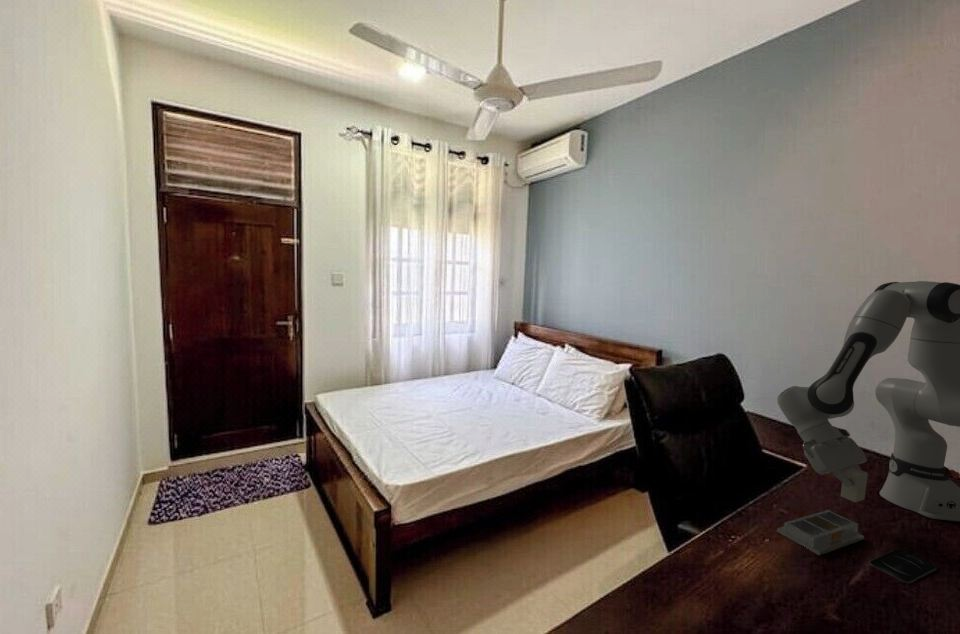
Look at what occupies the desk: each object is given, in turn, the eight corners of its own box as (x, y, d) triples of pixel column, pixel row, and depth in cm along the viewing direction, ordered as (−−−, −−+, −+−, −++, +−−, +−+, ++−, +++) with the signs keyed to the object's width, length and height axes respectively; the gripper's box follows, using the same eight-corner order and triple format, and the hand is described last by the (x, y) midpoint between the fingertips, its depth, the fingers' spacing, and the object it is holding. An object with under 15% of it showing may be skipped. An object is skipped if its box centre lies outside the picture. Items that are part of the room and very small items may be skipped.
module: (849, 493, 119) (852, 467, 118) (864, 499, 116) (867, 472, 115) (840, 496, 117) (843, 469, 117) (855, 502, 114) (858, 475, 113)
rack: (820, 518, 118) (822, 506, 118) (863, 539, 109) (865, 527, 109) (776, 531, 111) (778, 519, 110) (819, 555, 102) (821, 542, 101)
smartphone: (867, 561, 100) (898, 547, 106) (866, 565, 100) (897, 550, 106) (908, 583, 93) (939, 566, 99) (908, 587, 93) (938, 570, 99)
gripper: (809, 438, 117) (846, 487, 109) (850, 429, 125) (887, 474, 117) (790, 446, 122) (825, 494, 114) (831, 437, 130) (866, 481, 122)
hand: (857, 484), depth 116 cm, fingers closed on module, 4 cm apart
